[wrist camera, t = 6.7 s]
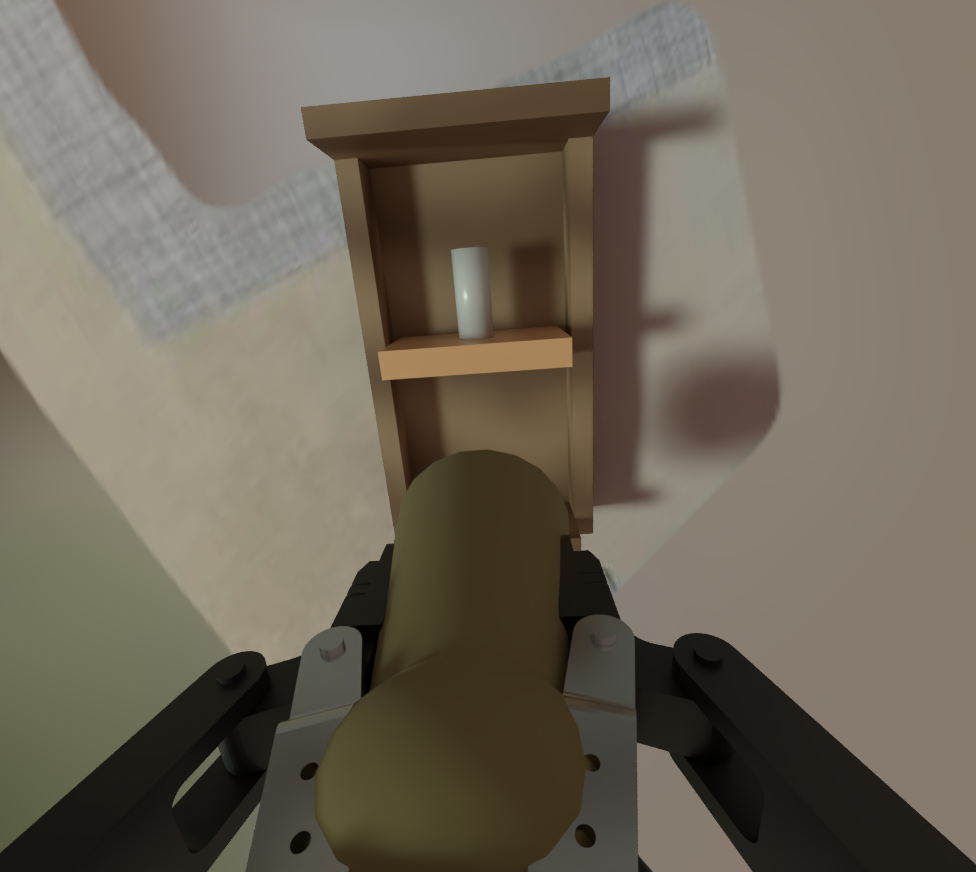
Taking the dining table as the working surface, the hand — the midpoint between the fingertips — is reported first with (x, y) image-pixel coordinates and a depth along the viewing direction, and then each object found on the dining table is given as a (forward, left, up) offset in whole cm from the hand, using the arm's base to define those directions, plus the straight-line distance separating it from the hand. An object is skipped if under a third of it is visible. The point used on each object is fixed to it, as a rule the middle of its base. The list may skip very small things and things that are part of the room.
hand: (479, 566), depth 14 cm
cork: (0, 0, -2) cm, 2 cm away
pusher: (-7, 0, -12) cm, 14 cm away
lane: (-5, 0, -13) cm, 14 cm away
